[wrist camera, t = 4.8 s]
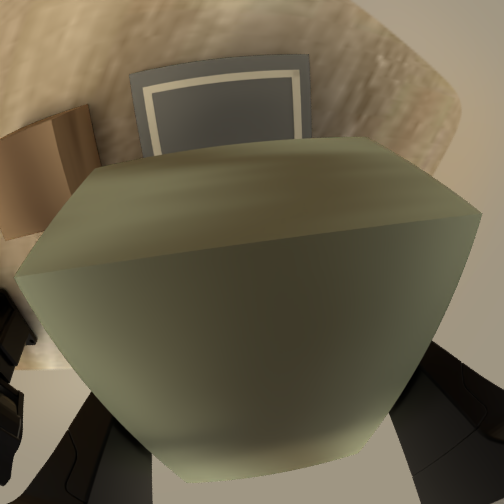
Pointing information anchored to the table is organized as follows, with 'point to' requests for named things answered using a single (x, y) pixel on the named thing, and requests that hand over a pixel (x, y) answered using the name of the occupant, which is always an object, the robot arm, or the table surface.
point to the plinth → (222, 102)
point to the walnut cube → (44, 170)
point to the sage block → (251, 296)
